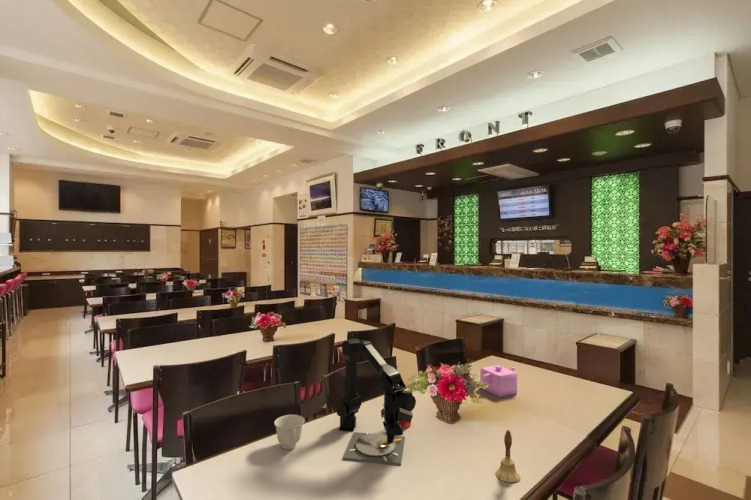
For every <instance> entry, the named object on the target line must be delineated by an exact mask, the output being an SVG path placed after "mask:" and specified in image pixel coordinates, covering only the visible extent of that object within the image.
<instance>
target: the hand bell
mask: <svg viewBox="0 0 751 500" xmlns="http://www.w3.org/2000/svg"><path fill="white" fill-rule="evenodd" d="M503 440H504V441H503V442H504V447H505V452H504V453H505V454H504V455H505V457H503V458H501V460H500V465H499V468H498V469H496V470H495V476H496V478H498V479H499V480H500V481H502V482H504V481H506V482H505V483H509V482H515V483H518V482H519V481H521V476H520V474H519V473H518V471H517V470H516V466H515V460H513V459H512V458H511V447H512V444H513V438H512V434H511V430H509V429H507V430H506V431H505V434H504V438H503Z"/></svg>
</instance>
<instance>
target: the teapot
mask: <svg viewBox="0 0 751 500" xmlns="http://www.w3.org/2000/svg"><path fill="white" fill-rule="evenodd" d="M516 368H517V366H511V367H510V369H508V368H506V367H503V366H502V365H499V364H496V365H490V366H485V367H480V370H479V371H480V380H479V382H483V383H489V385H488V387H487V388H485V389H482V390H484V391H485V392H488V393H490V394H492V395H494V396H495V397H498V398H503V397H507V396H513V395H516V394H518V373H517V372H516V371H515V369H516Z"/></svg>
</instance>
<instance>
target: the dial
mask: <svg viewBox="0 0 751 500" xmlns="http://www.w3.org/2000/svg"><path fill="white" fill-rule="evenodd" d="M395 448H396V443H395V441H394V440H393V443H390V442H389V439H388V437H387V435H386V434H383V433H380V432H379V433H375V432H374V433H371V434H366V435H363V436H361V437H360V438H358V439H357V441H356V449H357V450H358V451H359V452H360V453H362V454H364V455H367V456H372V457H381V456H385V455H388V454H390V453H392V452H393V451H394V450H395Z"/></svg>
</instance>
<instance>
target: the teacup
mask: <svg viewBox="0 0 751 500" xmlns="http://www.w3.org/2000/svg"><path fill="white" fill-rule="evenodd" d="M273 423H274V424H273V425H274V426H275V429H276V430H275V431H276V438H277V442H278V444H280V445H281V448H282V449H284V450H292V449H294V448H296V447H297V443H299V441H300V440H301V437H302V430H303V425H304V423H305V418H304V417H303V416H302V415H298V414H285V415H282V416H279V417H278V418H276V419H275V420H274V422H273Z"/></svg>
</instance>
